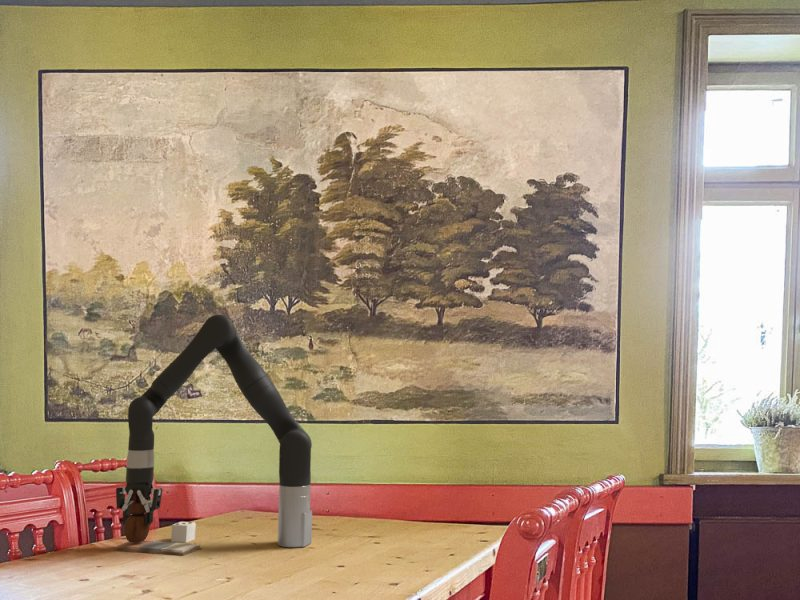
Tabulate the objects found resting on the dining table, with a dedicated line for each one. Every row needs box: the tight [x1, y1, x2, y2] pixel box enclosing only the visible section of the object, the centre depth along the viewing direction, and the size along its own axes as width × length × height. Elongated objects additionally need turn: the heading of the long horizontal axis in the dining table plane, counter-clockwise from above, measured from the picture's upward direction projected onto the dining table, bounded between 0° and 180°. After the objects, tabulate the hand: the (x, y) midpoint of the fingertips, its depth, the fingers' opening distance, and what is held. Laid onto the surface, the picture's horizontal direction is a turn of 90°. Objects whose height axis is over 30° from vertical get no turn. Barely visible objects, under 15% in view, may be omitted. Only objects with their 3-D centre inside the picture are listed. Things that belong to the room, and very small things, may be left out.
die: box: [170, 521, 196, 543], centre depth 206 cm, size 5×5×5 cm
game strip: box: [113, 539, 201, 557], centre depth 195 cm, size 22×9×1 cm, turn 77°
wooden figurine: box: [123, 489, 151, 543], centre depth 197 cm, size 7×6×15 cm
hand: (137, 524), depth 197 cm, fingers closed on wooden figurine, 6 cm apart
